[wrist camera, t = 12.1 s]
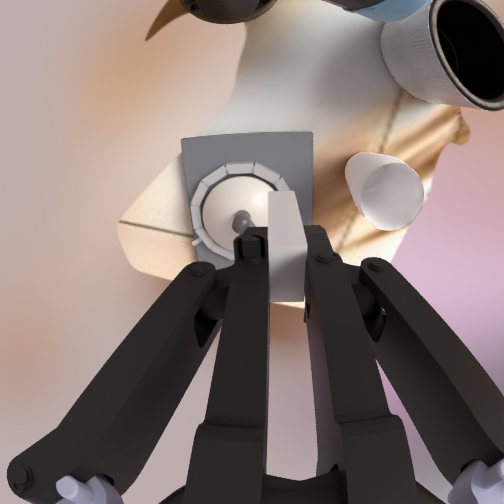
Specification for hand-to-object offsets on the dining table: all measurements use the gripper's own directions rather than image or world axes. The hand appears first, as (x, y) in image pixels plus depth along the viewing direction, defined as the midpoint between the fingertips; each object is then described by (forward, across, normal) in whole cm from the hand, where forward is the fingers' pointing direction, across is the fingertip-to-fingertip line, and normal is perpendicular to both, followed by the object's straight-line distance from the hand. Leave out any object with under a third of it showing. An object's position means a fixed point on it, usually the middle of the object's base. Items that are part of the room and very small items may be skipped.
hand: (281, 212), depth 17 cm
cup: (+27, +14, -4) cm, 30 cm away
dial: (+25, -5, -10) cm, 27 cm away
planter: (+27, +24, +17) cm, 40 cm away
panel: (+26, -4, -10) cm, 29 cm away
